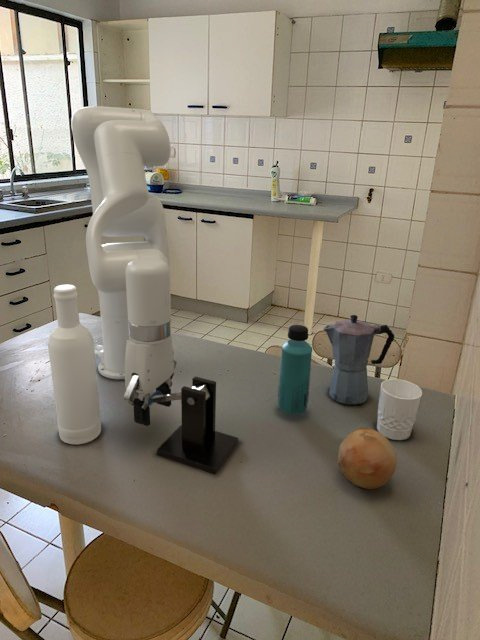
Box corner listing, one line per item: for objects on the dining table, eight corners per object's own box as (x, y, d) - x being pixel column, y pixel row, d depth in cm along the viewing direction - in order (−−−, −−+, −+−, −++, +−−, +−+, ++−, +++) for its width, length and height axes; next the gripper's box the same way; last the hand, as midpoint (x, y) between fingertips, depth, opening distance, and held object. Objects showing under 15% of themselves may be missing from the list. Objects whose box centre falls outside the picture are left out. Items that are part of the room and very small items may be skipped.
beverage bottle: (305, 422, 97) (314, 335, 89) (274, 418, 98) (280, 331, 91) (307, 406, 103) (316, 323, 95) (278, 402, 104) (284, 319, 96)
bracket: (157, 454, 86) (154, 389, 80) (184, 426, 94) (183, 366, 89) (215, 474, 81) (216, 407, 76) (238, 442, 90) (240, 380, 85)
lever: (143, 411, 87) (138, 400, 86) (158, 399, 91) (153, 388, 91) (200, 405, 81) (196, 393, 80) (213, 392, 85) (209, 380, 84)
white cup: (385, 415, 101) (392, 374, 97) (420, 431, 95) (429, 389, 92) (366, 429, 95) (373, 387, 92) (401, 447, 90) (410, 403, 86)
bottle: (50, 438, 89) (29, 290, 78) (77, 417, 96) (62, 278, 84) (84, 449, 86) (67, 297, 75) (110, 427, 93) (98, 284, 82)
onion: (404, 495, 78) (414, 446, 74) (351, 506, 75) (360, 455, 72) (373, 458, 87) (381, 413, 83) (325, 467, 84) (331, 420, 80)
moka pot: (314, 383, 112) (322, 306, 105) (377, 386, 112) (390, 309, 105) (319, 404, 104) (328, 322, 96) (388, 408, 103) (403, 325, 96)
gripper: (158, 310, 92) (161, 388, 98) (101, 342, 77) (108, 432, 83) (192, 316, 89) (192, 397, 95) (139, 351, 74) (143, 444, 81)
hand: (153, 413), depth 89 cm, fingers open, 6 cm apart
